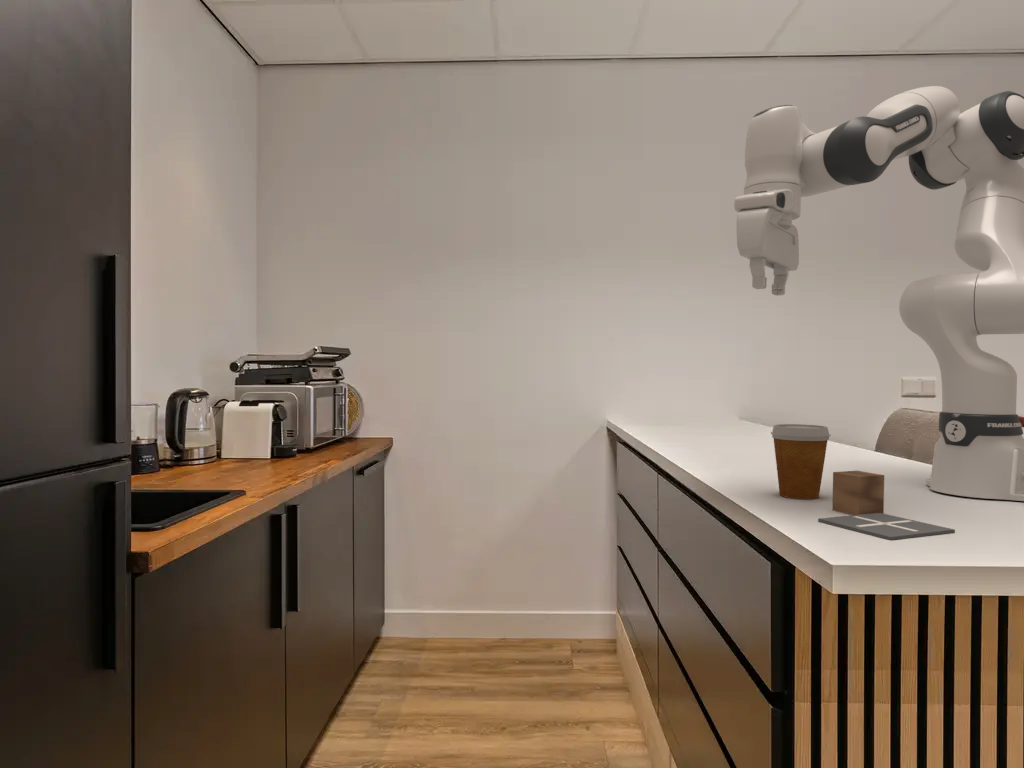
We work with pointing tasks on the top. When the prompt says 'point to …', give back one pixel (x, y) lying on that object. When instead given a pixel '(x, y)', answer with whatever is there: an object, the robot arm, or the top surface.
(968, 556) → the top surface
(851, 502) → the walnut block
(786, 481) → the disposable coffee cup
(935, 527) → the pad
